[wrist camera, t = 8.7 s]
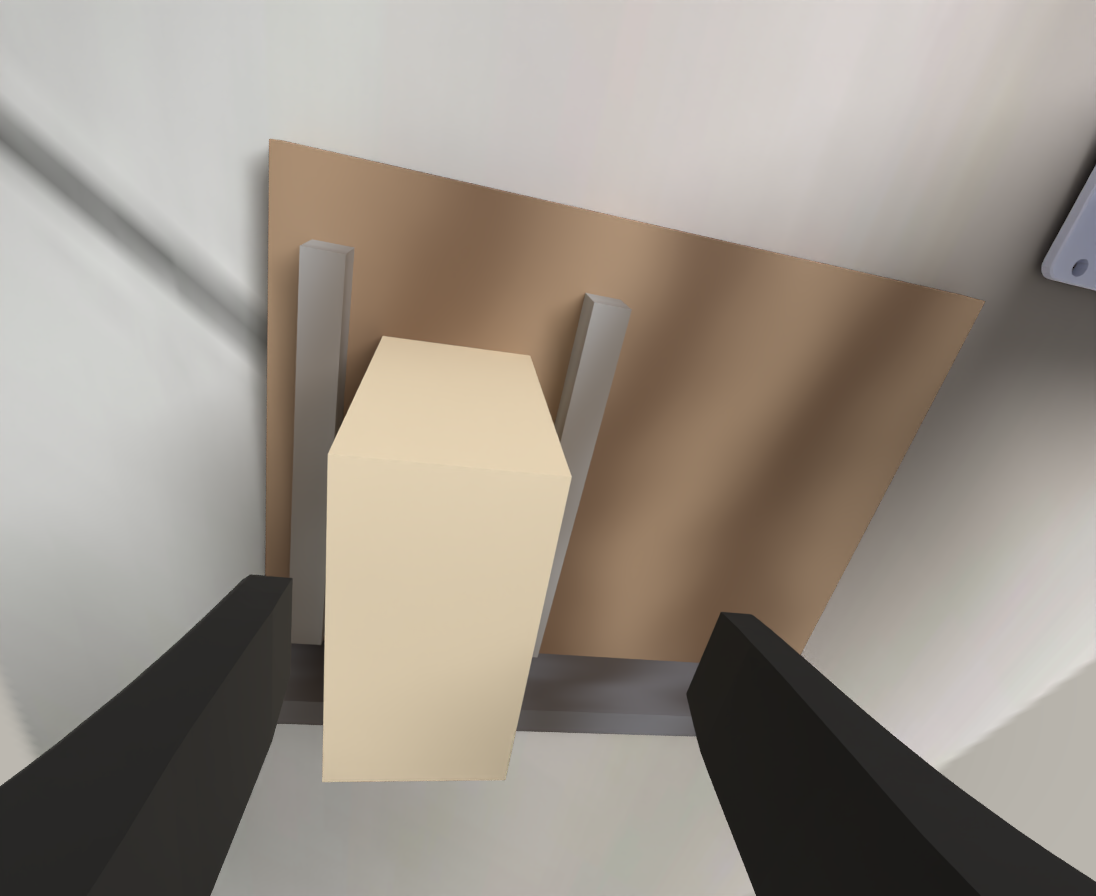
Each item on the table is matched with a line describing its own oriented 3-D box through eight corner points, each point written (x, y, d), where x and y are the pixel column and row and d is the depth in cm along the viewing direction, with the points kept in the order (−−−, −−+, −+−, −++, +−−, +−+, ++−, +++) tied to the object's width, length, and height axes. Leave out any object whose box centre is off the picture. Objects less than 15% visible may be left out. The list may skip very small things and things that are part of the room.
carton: (491, 587, 20) (503, 785, 13) (368, 580, 19) (322, 787, 13) (530, 355, 16) (571, 477, 10) (382, 335, 15) (327, 454, 9)
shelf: (959, 294, 18) (1062, 321, 15) (770, 670, 25) (814, 743, 22) (281, 140, 14) (229, 134, 11) (273, 641, 21) (239, 726, 18)
